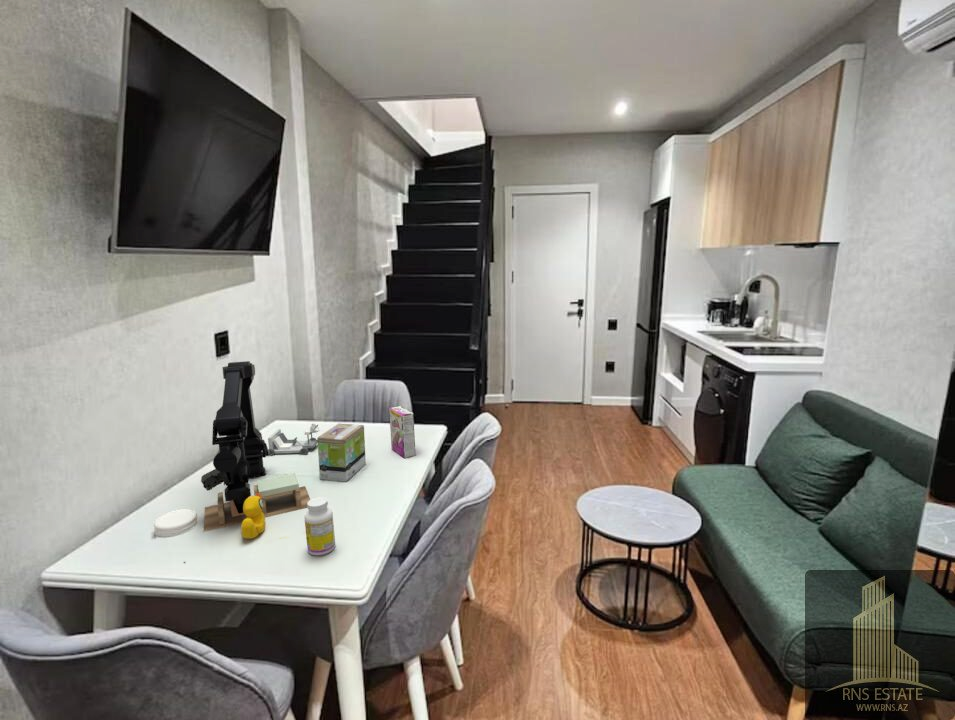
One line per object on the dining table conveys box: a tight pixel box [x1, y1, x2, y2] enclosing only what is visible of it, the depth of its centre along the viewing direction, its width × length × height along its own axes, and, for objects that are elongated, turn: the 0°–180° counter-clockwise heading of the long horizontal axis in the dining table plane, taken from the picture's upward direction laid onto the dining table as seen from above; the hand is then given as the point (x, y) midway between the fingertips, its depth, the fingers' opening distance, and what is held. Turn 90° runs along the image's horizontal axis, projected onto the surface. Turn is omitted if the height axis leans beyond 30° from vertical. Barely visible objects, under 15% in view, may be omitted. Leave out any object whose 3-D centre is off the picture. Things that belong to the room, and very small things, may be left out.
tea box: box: [316, 423, 367, 482], centre depth 168 cm, size 15×10×15 cm, turn 168°
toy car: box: [267, 423, 321, 457], centre depth 189 cm, size 18×10×12 cm
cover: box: [256, 472, 300, 497], centre depth 146 cm, size 8×11×2 cm
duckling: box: [240, 493, 266, 540], centre depth 131 cm, size 11×5×10 cm, turn 6°
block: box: [229, 500, 245, 517], centre depth 142 cm, size 4×4×4 cm
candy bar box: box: [388, 405, 417, 459], centre depth 183 cm, size 11×5×16 cm, turn 34°
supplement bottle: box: [304, 496, 336, 556], centre depth 123 cm, size 7×7×13 cm
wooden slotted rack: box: [203, 484, 311, 533], centre depth 144 cm, size 15×28×6 cm, turn 117°
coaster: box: [153, 508, 199, 538], centre depth 135 cm, size 10×10×4 cm
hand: (240, 509), depth 142 cm, fingers closed on block, 4 cm apart
